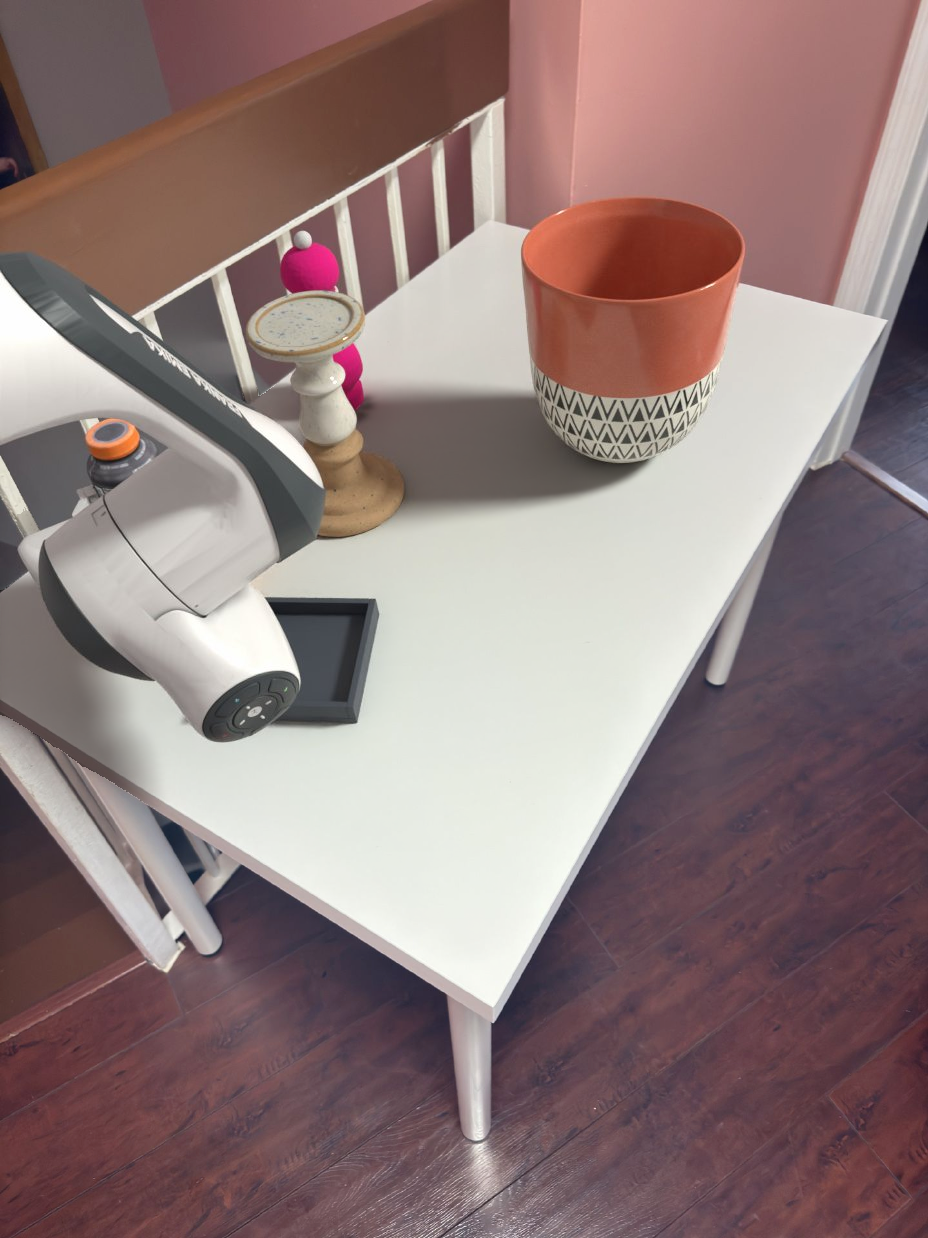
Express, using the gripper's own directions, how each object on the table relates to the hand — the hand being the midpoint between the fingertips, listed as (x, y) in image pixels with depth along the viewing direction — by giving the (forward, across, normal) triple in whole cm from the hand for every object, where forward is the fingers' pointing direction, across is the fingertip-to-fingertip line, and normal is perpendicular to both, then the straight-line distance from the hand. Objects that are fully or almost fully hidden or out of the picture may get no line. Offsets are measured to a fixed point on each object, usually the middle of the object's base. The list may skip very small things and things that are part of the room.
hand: (129, 476), depth 78 cm
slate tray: (-16, -6, +13) cm, 22 cm away
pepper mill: (+18, -25, +13) cm, 34 cm away
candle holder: (+2, -19, +13) cm, 23 cm away
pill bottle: (-1, 0, +6) cm, 6 cm away
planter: (-7, -47, +13) cm, 49 cm away
